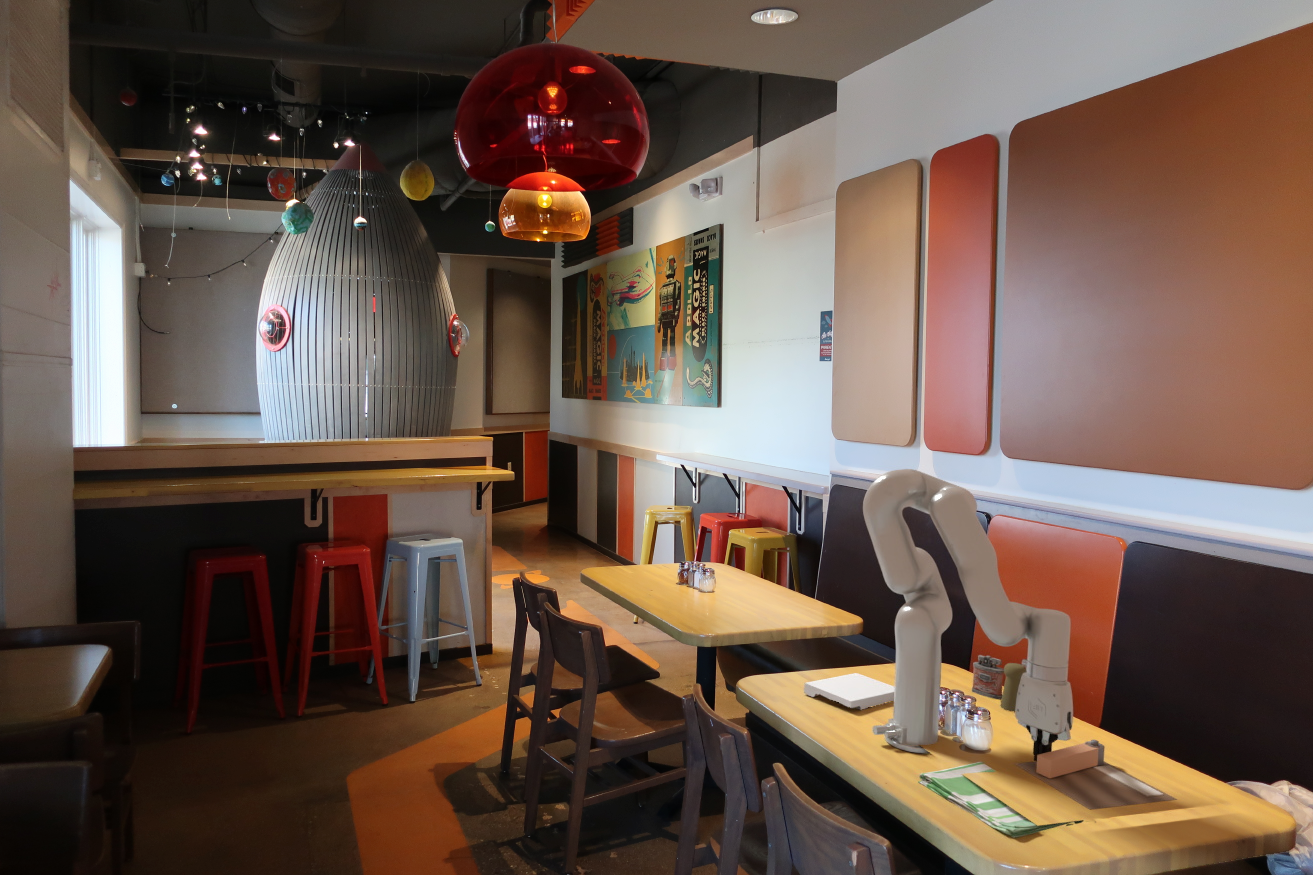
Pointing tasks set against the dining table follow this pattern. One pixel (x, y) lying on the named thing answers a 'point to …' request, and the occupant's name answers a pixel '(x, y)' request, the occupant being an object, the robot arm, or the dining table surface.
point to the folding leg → (1070, 759)
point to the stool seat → (1101, 786)
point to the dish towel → (981, 800)
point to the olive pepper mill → (1011, 685)
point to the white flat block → (852, 690)
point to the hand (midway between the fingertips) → (1041, 760)
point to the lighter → (988, 677)
